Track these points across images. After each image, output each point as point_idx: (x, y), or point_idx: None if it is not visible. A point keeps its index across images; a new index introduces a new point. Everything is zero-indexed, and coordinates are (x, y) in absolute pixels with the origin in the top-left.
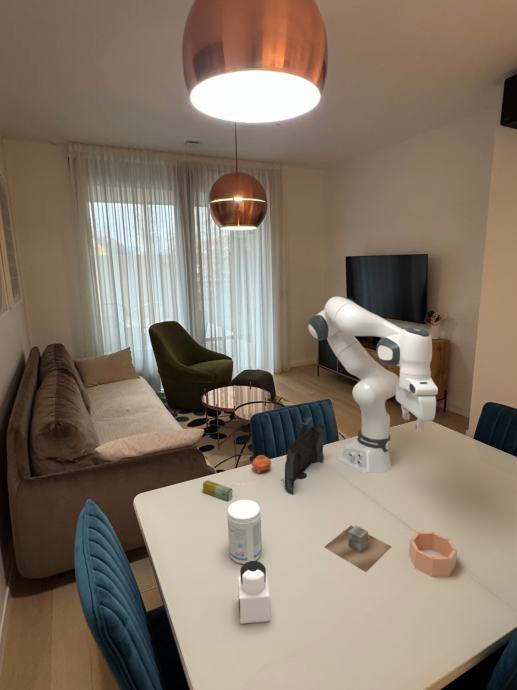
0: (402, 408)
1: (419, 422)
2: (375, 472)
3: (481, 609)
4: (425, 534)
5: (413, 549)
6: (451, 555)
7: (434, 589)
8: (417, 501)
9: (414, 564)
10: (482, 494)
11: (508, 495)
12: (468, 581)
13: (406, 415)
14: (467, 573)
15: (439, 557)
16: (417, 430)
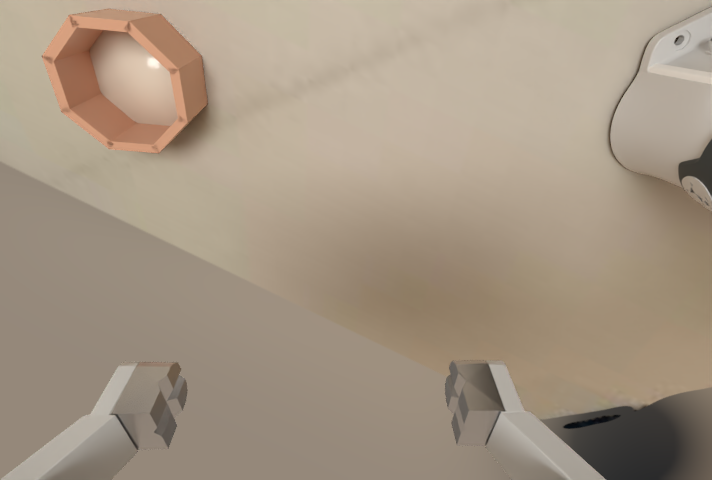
0: (560, 470)
1: (11, 476)
2: (629, 95)
3: (15, 120)
4: (174, 92)
5: (99, 16)
6: (80, 123)
7: (43, 33)
8: (431, 167)
9: (105, 10)
10: (424, 318)
11: (409, 354)
12: None
13: (460, 412)
14: None
15: (57, 81)
16: (122, 363)
